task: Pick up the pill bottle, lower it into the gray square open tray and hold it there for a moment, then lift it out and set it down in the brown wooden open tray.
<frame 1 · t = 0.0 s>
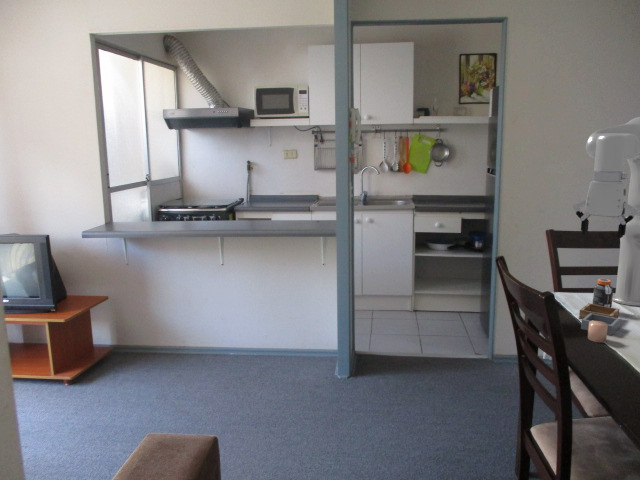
hand: (602, 235, 161), 31 cm above the table, fingers open, 9 cm apart
gray square open tray: (599, 328, 172), on the table
brown wooden open tray: (598, 318, 181), on the table
pill bottle: (601, 311, 189), on the table
peach rounded capsule: (596, 339, 163), on the table
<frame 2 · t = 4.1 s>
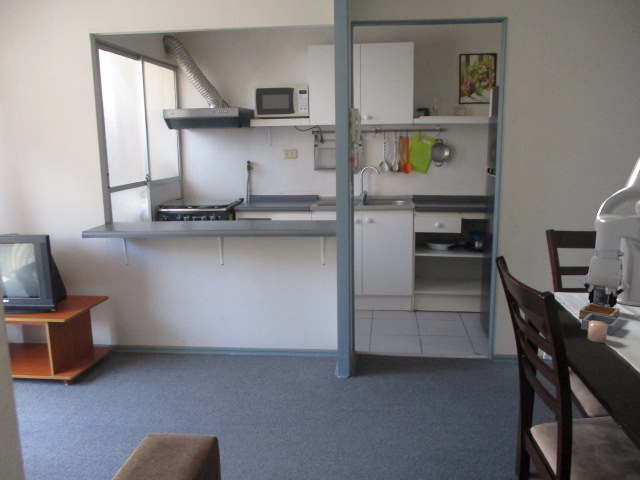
hand: (602, 304, 188), 3 cm above the table, fingers closed on pill bottle, 6 cm apart
pill bottle: (601, 311, 189), on the table, touching gripper
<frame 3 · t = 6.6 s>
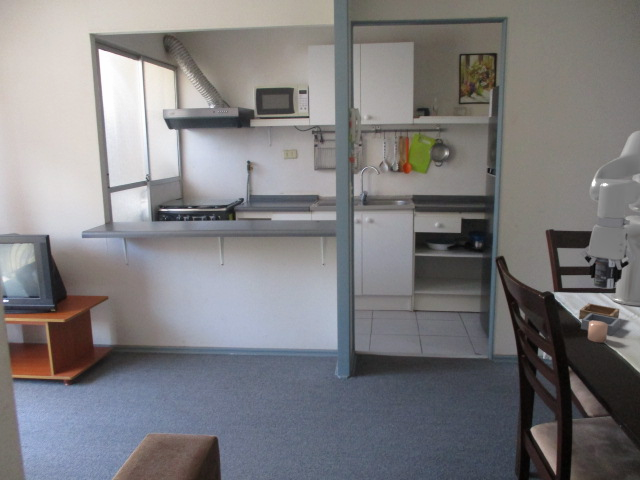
hand: (604, 278, 169), 16 cm above the table, fingers closed on pill bottle, 6 cm apart
pill bottle: (604, 287, 170), point 14 cm above the table, touching gripper
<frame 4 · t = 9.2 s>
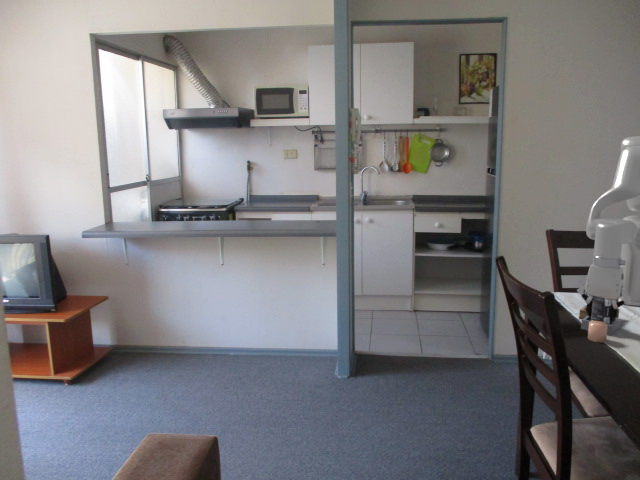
hand: (601, 316, 172), 4 cm above the table, fingers closed on pill bottle, 6 cm apart
pill bottle: (600, 324, 172), point 1 cm above the table, touching gripper
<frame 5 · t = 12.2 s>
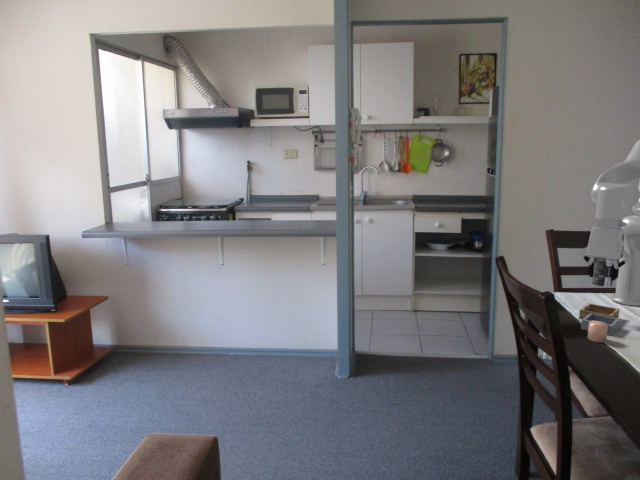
hand: (602, 277, 178), 14 cm above the table, fingers closed on pill bottle, 6 cm apart
pill bottle: (601, 285, 178), point 12 cm above the table, touching gripper
when the fingers open (4 cm above the table, at t = 14.7 s): pill bottle stays where it is, resting on brown wooden open tray.
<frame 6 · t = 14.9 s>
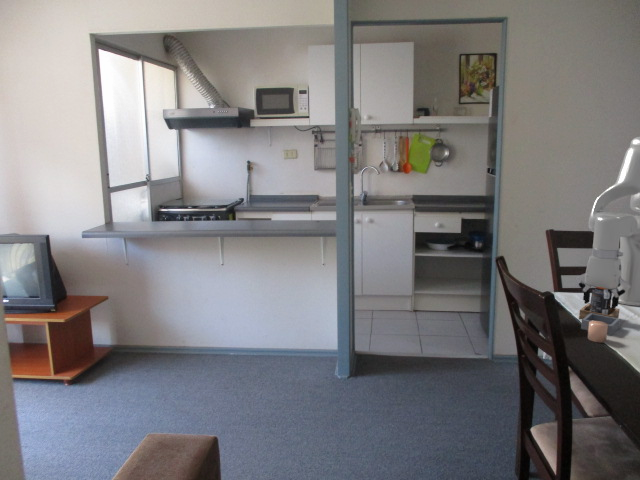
hand: (600, 304, 180), 5 cm above the table, fingers open, 7 cm apart
pill bottle: (598, 316, 181), point 1 cm above the table, touching brown wooden open tray
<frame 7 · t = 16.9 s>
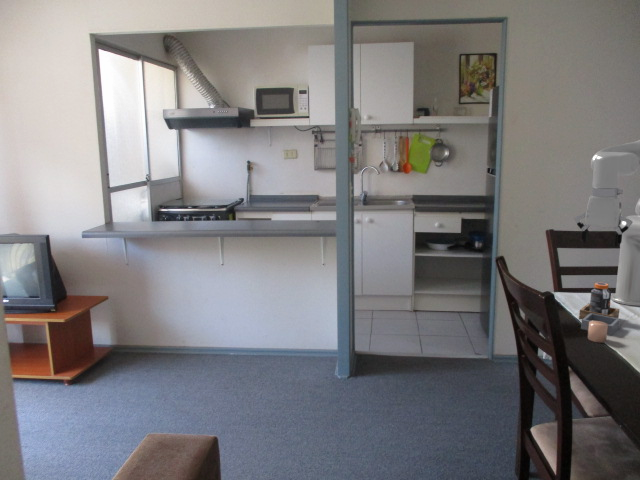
hand: (601, 243, 180), 25 cm above the table, fingers open, 9 cm apart
nothing on the table moved.
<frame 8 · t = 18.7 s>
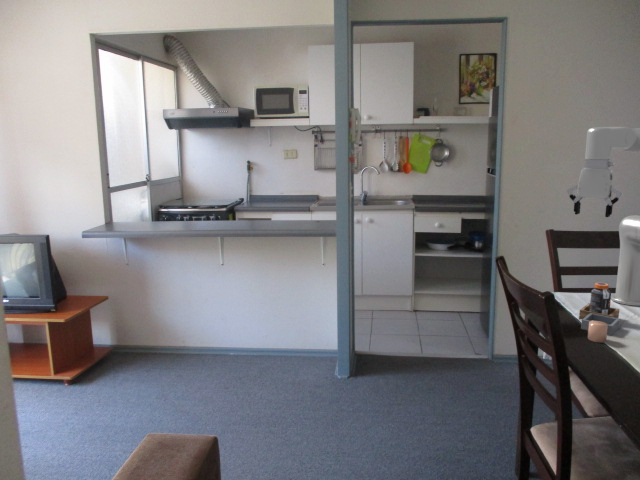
hand: (592, 215, 185), 33 cm above the table, fingers open, 9 cm apart
nothing on the table moved.
at the end: pill bottle 0.0 cm off-centre on the brown wooden open tray, point 0.6 cm above the brown wooden open tray's base; pill bottle tilted 0°; the gripper is holding nothing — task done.
